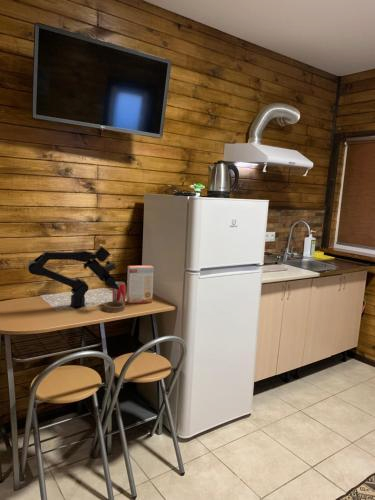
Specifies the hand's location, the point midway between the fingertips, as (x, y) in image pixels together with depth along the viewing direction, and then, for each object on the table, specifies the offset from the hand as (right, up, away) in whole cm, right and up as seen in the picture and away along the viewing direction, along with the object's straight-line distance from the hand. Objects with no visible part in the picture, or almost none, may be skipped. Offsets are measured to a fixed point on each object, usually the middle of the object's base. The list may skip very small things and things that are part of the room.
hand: (116, 287), depth 213 cm
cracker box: (+12, -10, +9) cm, 17 cm away
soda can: (+1, -10, +2) cm, 10 cm away
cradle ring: (+1, -11, -8) cm, 14 cm away
